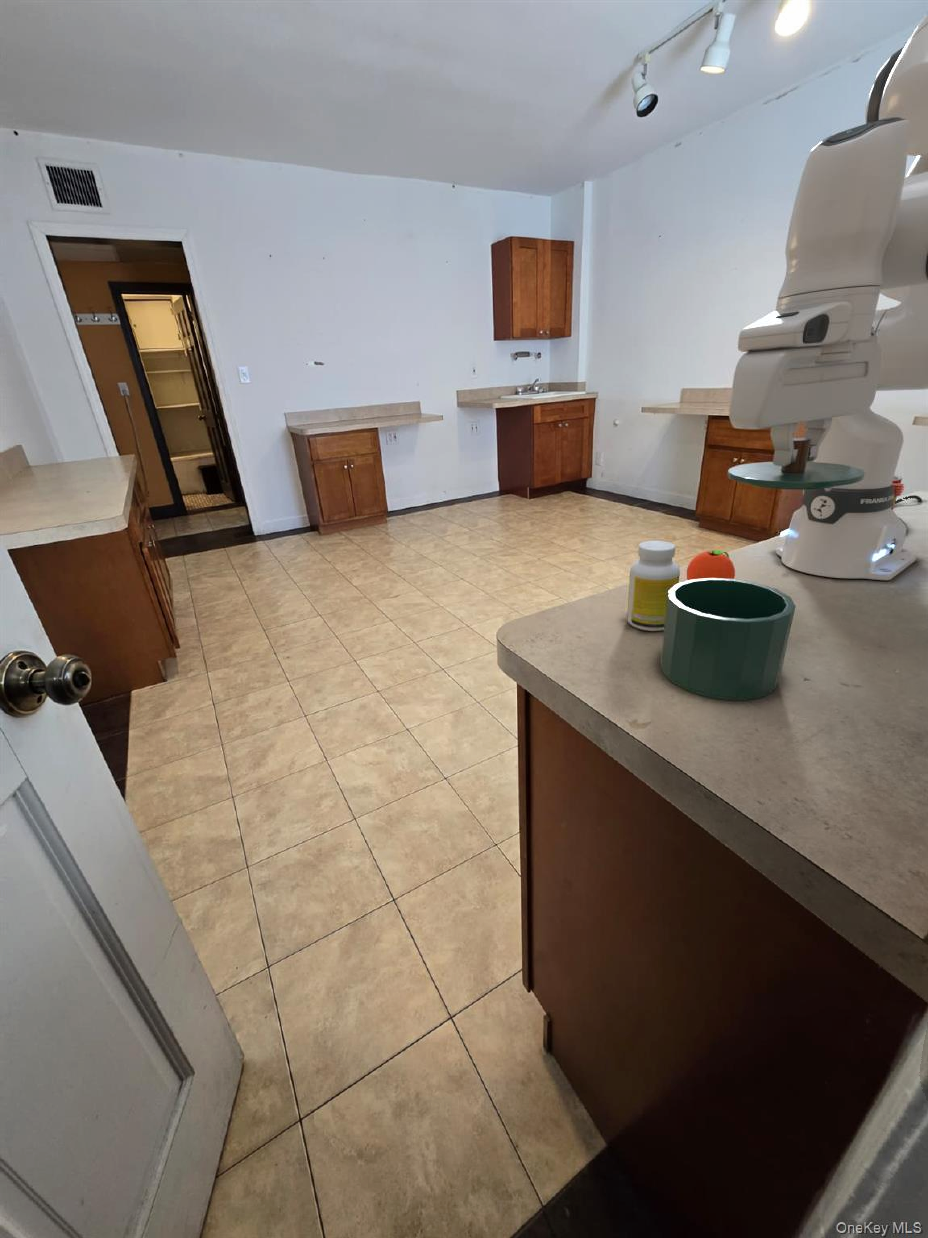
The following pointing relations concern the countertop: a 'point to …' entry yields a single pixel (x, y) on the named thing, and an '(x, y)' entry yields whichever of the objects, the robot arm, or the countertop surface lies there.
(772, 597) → the tin
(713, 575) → the clementine
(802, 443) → the lid
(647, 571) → the pill bottle
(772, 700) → the countertop surface
